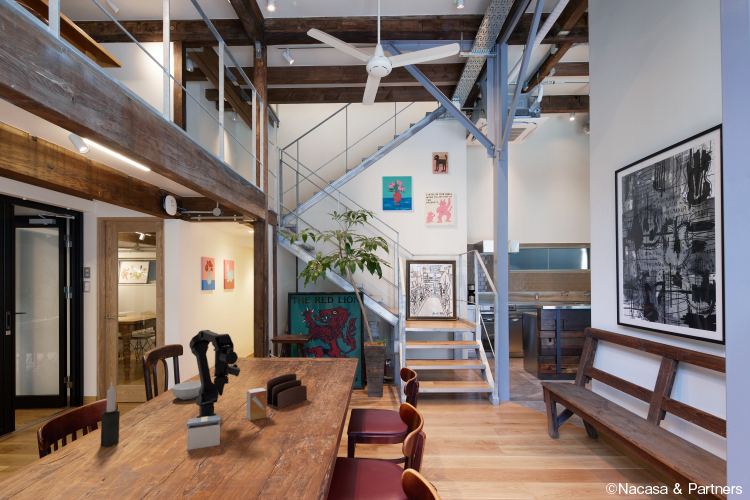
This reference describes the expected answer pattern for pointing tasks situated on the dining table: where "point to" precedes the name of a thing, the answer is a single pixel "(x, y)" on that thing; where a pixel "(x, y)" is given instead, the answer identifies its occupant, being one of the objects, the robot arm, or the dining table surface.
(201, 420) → the lid
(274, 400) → the letter holder
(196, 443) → the storage box
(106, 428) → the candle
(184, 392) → the cereal bowl
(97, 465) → the dining table surface
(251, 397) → the small box
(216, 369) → the robot arm
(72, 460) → the dining table surface
